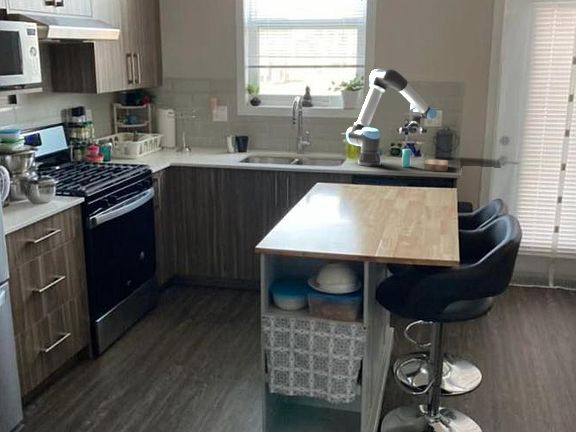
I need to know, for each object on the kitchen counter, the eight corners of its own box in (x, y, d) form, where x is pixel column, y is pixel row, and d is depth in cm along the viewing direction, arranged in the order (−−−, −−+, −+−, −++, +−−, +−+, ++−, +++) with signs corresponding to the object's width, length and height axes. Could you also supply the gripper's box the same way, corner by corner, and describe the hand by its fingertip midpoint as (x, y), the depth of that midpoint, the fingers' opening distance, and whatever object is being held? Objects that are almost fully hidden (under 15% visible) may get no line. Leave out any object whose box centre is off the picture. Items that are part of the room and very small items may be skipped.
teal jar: (401, 167, 409) (402, 150, 406) (402, 165, 414) (403, 148, 411) (410, 167, 407) (411, 150, 405) (410, 166, 412) (411, 149, 410)
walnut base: (424, 170, 399) (424, 163, 398) (425, 165, 416) (426, 159, 415) (446, 171, 396) (447, 165, 395) (447, 166, 412) (448, 160, 411)
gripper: (431, 133, 438) (429, 138, 418) (395, 132, 445) (391, 136, 425) (432, 122, 436) (429, 126, 416) (395, 121, 443) (391, 125, 423)
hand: (410, 131), depth 420 cm, fingers open, 13 cm apart
